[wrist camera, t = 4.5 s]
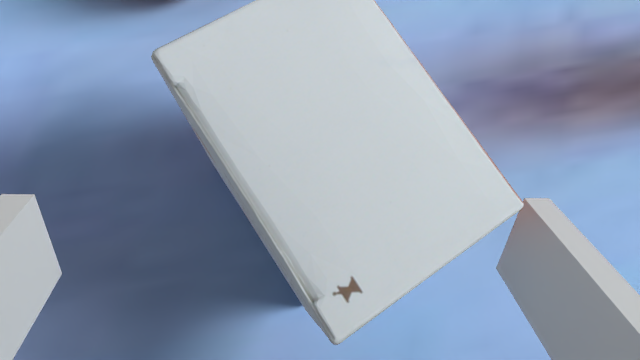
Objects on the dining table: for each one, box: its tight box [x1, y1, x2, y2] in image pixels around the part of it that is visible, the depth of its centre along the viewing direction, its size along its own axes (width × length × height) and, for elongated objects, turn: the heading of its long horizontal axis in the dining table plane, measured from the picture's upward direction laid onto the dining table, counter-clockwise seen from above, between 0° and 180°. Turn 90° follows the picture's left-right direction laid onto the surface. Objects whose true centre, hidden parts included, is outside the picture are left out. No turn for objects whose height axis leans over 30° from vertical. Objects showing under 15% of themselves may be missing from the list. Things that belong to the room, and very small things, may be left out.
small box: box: [151, 0, 524, 345], centre depth 15 cm, size 8×6×10 cm
